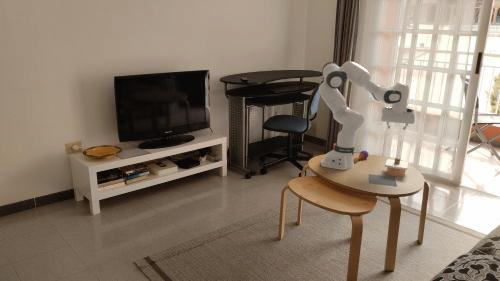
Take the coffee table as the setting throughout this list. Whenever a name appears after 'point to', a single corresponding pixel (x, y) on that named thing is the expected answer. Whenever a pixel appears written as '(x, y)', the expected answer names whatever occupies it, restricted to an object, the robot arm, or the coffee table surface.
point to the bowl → (395, 171)
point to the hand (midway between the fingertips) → (396, 129)
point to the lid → (396, 164)
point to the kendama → (361, 156)
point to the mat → (382, 180)
